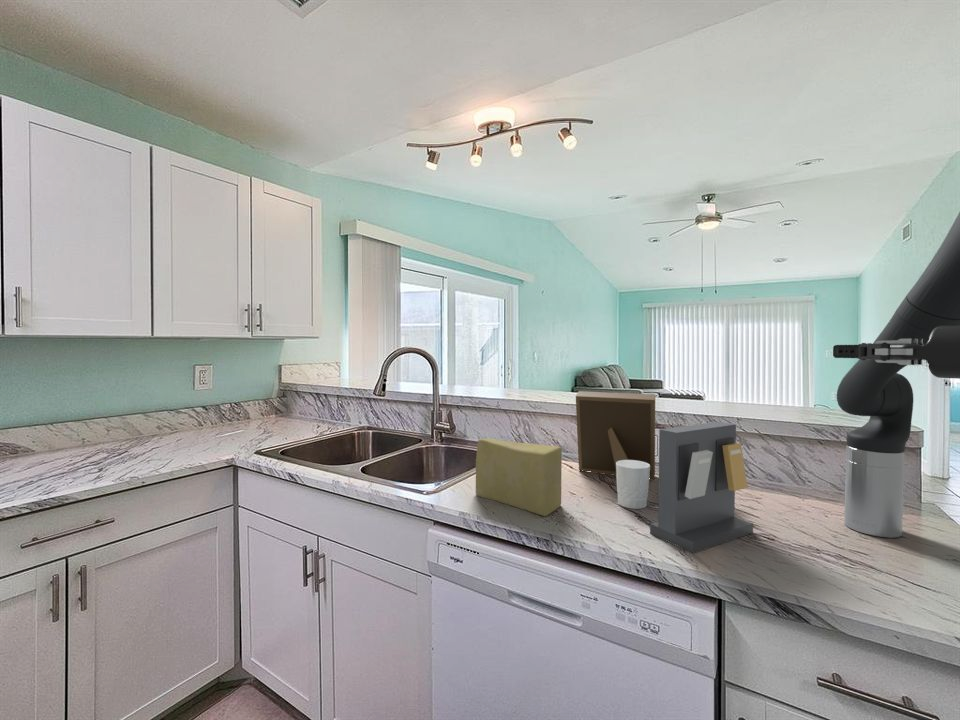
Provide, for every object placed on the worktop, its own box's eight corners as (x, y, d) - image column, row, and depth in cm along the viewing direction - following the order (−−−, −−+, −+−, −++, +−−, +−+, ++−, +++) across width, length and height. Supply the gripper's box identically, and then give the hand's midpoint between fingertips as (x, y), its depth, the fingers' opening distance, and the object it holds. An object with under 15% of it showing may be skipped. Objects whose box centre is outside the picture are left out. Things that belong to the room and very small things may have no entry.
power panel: (708, 516, 102) (710, 420, 101) (752, 532, 93) (755, 427, 93) (650, 533, 93) (651, 427, 92) (693, 553, 84) (694, 436, 83)
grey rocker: (699, 492, 89) (707, 449, 88) (705, 495, 88) (713, 452, 86) (684, 496, 87) (692, 452, 85) (690, 499, 86) (698, 455, 84)
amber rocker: (741, 487, 93) (735, 443, 94) (747, 487, 92) (741, 443, 93) (728, 490, 91) (722, 445, 92) (734, 491, 90) (728, 445, 91)
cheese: (465, 499, 114) (465, 440, 113) (486, 489, 122) (486, 434, 121) (545, 518, 101) (545, 452, 101) (562, 505, 109) (563, 444, 109)
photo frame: (581, 467, 143) (582, 389, 142) (655, 475, 134) (656, 392, 133) (571, 481, 129) (572, 394, 128) (652, 491, 120) (653, 398, 119)
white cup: (609, 504, 110) (610, 464, 110) (624, 496, 116) (624, 458, 115) (641, 512, 105) (641, 470, 104) (654, 504, 110) (655, 463, 110)
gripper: (1001, 325, 64) (855, 330, 79) (964, 323, 58) (814, 328, 73) (999, 378, 64) (854, 372, 80) (963, 381, 58) (813, 374, 74)
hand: (835, 351), depth 76 cm, fingers closed
